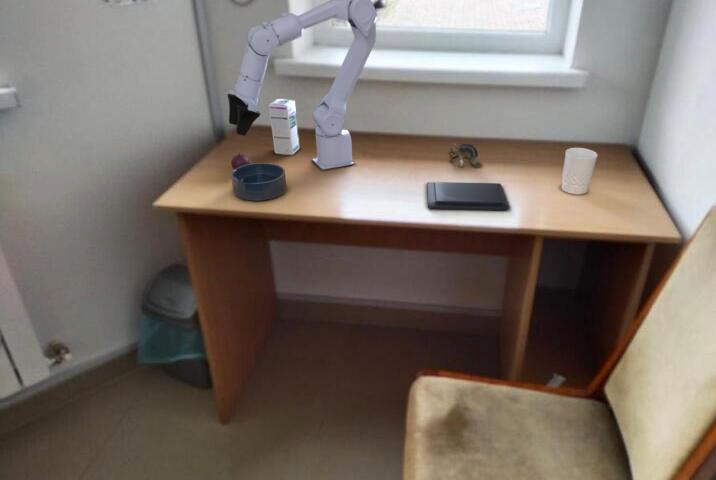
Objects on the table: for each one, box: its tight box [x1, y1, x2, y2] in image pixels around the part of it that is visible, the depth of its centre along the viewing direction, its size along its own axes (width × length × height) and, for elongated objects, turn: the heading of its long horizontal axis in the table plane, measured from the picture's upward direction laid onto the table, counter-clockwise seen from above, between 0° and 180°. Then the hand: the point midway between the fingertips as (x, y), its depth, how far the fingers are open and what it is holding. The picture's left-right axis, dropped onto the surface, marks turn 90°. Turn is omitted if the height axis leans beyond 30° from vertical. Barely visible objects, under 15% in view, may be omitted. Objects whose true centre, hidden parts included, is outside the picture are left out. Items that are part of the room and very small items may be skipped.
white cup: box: [561, 147, 599, 195], centre depth 145 cm, size 8×8×10 cm
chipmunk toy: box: [446, 143, 482, 168], centre depth 158 cm, size 8×7×9 cm
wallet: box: [426, 181, 510, 212], centre depth 141 cm, size 20×2×15 cm
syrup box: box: [268, 98, 301, 156], centre depth 161 cm, size 6×6×14 cm
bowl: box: [230, 162, 288, 201], centre depth 140 cm, size 13×13×5 cm
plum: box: [230, 152, 251, 171], centre depth 149 cm, size 5×5×6 cm
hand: (236, 129), depth 143 cm, fingers open, 7 cm apart
